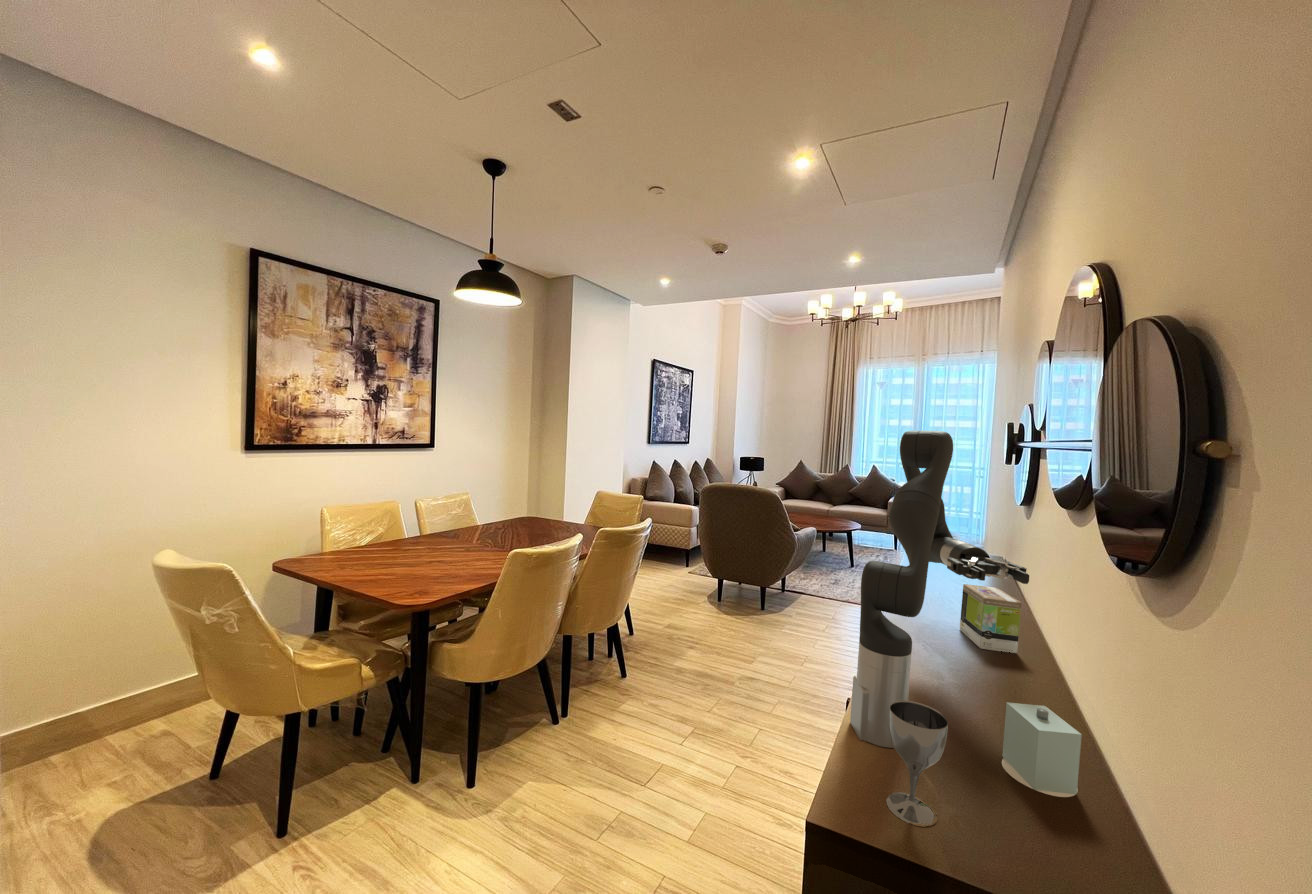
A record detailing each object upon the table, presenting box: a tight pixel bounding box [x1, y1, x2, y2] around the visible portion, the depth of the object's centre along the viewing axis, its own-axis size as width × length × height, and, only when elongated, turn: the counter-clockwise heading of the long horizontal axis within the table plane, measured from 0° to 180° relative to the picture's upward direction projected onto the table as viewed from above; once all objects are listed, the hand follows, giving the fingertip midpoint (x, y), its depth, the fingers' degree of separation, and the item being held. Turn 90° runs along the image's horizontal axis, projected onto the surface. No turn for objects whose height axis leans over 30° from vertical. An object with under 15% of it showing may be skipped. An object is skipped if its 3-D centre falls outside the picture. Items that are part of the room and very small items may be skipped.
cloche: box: [1002, 702, 1083, 795], centre depth 86 cm, size 7×9×11 cm
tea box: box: [959, 583, 1022, 654], centre depth 148 cm, size 15×10×15 cm, turn 168°
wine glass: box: [885, 700, 949, 825], centre depth 77 cm, size 8×8×15 cm
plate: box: [1001, 757, 1079, 798], centre depth 86 cm, size 10×10×1 cm
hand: (1005, 577), depth 104 cm, fingers open, 8 cm apart
